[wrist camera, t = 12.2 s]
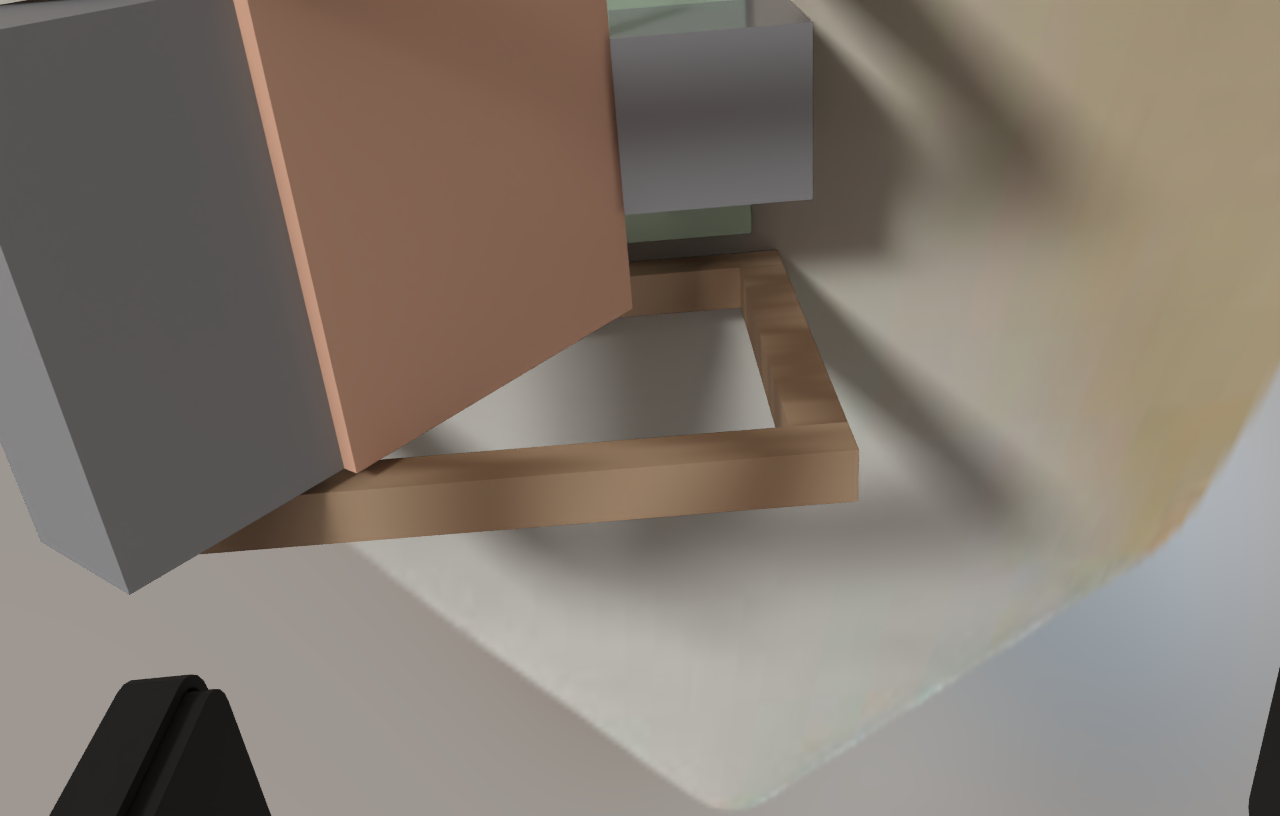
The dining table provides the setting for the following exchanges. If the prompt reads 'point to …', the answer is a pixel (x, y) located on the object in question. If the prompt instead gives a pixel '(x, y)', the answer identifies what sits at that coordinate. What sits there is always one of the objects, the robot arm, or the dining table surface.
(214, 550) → the stand
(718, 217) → the mat
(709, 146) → the grey block
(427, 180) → the trapdoor
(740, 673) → the dining table surface
